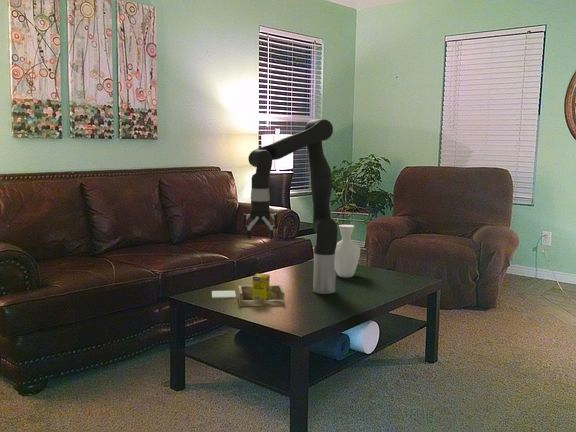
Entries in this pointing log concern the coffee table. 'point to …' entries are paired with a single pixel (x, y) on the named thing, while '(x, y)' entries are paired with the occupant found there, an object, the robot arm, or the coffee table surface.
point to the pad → (223, 294)
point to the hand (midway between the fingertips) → (260, 239)
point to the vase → (346, 253)
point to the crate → (273, 292)
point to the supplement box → (261, 287)
